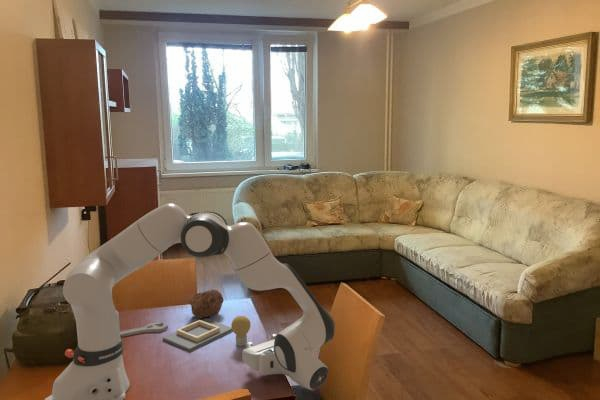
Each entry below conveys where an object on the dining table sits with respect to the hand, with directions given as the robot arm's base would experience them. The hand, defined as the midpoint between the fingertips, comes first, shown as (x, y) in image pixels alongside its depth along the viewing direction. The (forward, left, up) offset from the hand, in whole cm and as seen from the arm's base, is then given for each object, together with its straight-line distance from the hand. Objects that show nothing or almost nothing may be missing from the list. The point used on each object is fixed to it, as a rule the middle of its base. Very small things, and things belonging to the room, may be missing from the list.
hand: (260, 340), depth 163 cm
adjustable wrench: (-14, +49, -7) cm, 52 cm away
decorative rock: (+13, +40, -6) cm, 42 cm away
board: (-1, +29, -6) cm, 29 cm away
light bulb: (+3, +12, -6) cm, 14 cm away
